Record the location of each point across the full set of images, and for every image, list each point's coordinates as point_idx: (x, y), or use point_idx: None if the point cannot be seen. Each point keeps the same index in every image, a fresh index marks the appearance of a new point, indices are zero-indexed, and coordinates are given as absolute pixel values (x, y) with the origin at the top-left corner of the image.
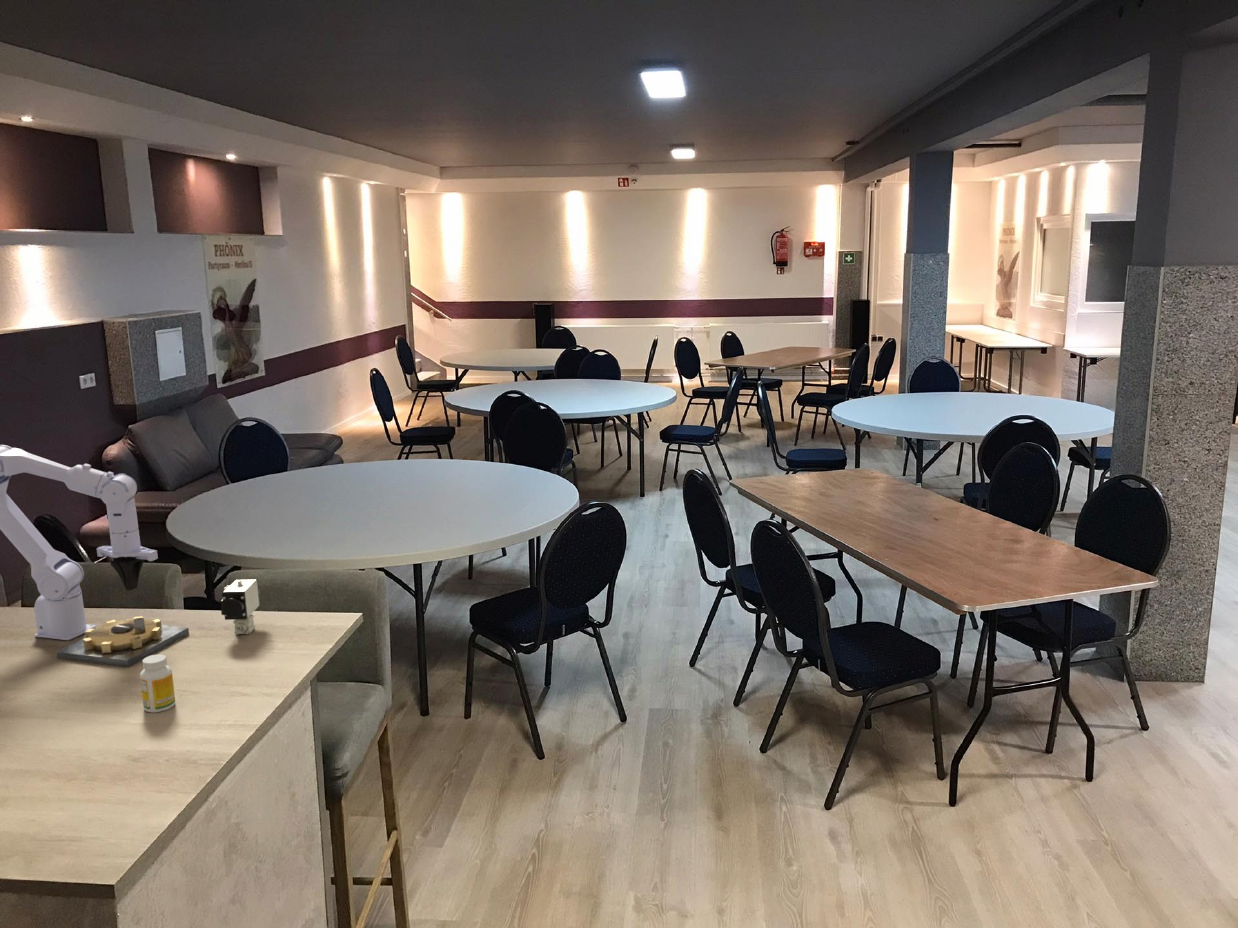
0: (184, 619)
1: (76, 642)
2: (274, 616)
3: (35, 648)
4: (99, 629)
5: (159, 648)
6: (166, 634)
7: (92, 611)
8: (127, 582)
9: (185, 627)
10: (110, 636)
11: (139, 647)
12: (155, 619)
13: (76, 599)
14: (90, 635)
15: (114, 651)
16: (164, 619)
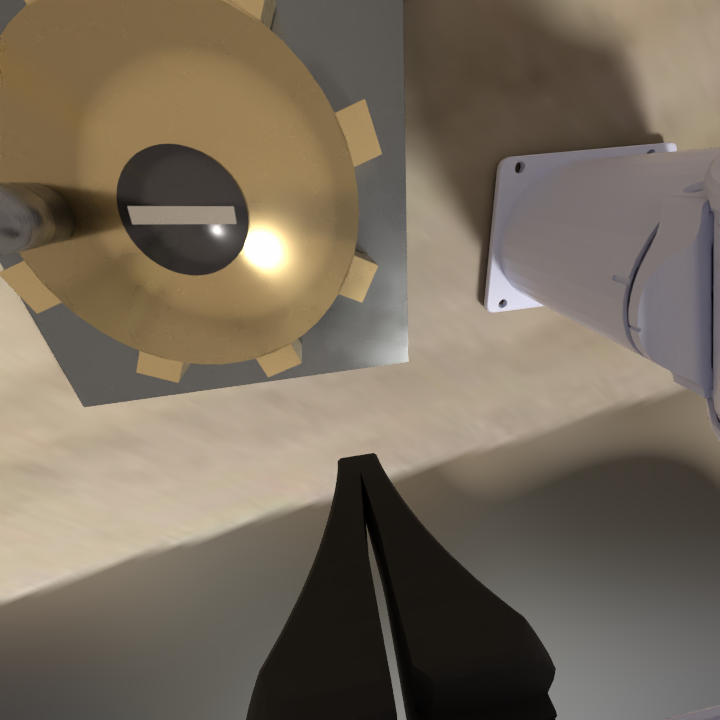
0: (252, 462)
1: (397, 81)
2: (10, 569)
3: (592, 21)
4: (318, 167)
5: None
6: (82, 325)
7: (588, 398)
8: (349, 494)
9: (95, 403)
10: (143, 89)
11: None
12: (178, 373)
13: (612, 274)
14: (282, 58)
15: None
16: (314, 439)
